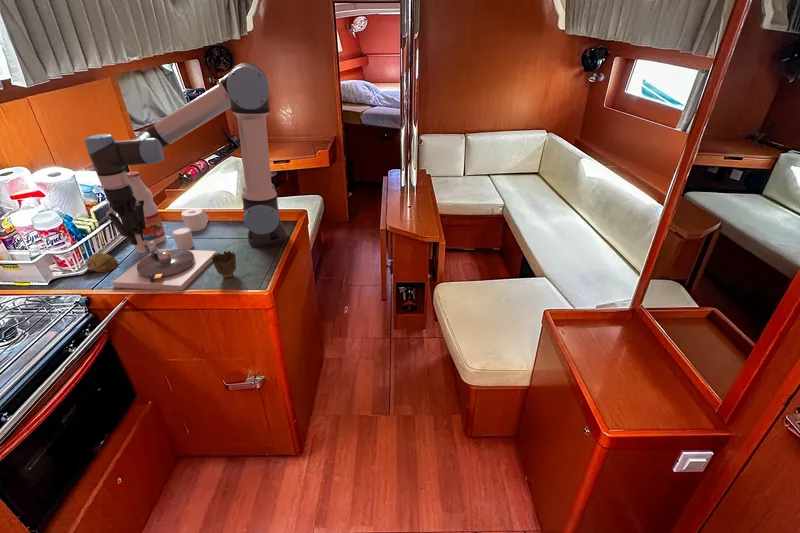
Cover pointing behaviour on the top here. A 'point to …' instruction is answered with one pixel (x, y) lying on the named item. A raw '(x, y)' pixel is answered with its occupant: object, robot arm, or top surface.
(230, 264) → the cup
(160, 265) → the flange plate
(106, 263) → the seashell
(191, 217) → the toilet paper
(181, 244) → the pale pink cylinder
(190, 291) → the top surface
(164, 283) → the base plate
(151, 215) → the fruit juice
